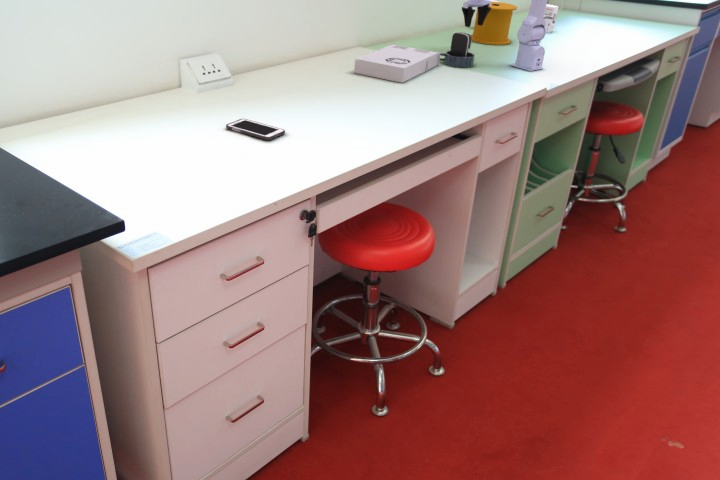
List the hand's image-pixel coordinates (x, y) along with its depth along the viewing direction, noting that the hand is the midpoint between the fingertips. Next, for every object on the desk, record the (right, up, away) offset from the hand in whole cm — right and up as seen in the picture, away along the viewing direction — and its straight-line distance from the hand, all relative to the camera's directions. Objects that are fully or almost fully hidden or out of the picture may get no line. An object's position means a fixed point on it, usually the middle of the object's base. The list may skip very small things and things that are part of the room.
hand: (473, 25), depth 272 cm
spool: (+13, +3, +26) cm, 29 cm away
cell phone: (-79, -61, -92) cm, 136 cm away
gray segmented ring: (-11, -19, -14) cm, 26 cm away
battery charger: (-9, -20, -14) cm, 26 cm away
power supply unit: (-34, -25, -26) cm, 49 cm away
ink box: (+45, +16, +52) cm, 70 cm away
